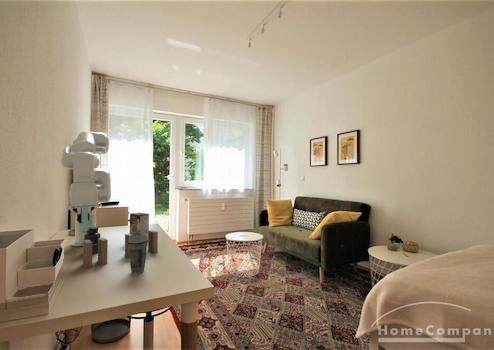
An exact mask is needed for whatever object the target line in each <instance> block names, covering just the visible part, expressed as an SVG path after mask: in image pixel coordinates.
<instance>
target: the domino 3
mask: <svg viewBox="0 0 494 350" xmlns="http://www.w3.org/2000/svg"><path fill="white" fill-rule="evenodd" d="M130 235H131V234H130V232H129V233H125V234H124V256H125V257H126V258H127V259H129V260H130V253H129V247H128V239H129V237H130Z"/></svg>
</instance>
